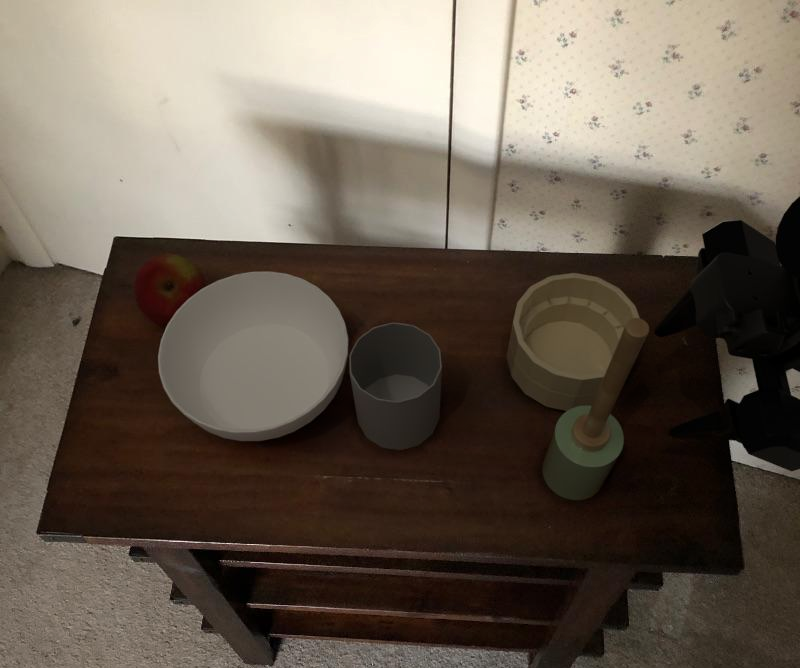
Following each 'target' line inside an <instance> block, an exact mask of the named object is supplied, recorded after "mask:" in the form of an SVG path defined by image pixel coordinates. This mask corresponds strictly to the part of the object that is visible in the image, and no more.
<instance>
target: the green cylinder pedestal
mask: <svg viewBox="0 0 800 668" xmlns="http://www.w3.org/2000/svg"><path fill="white" fill-rule="evenodd" d="M590 409H591V406H578V407H574V408H572V409H570V410H568V411H565V412H564V413H562V415H561V416H560V417H559V418H558V420H557V422H556V424H555V427H554V430H553V433H552V435H551V438H550V440H549V444H548V447H547V450H546V452H545V456H544V459H543V462H542V467H541V469H542V470H541V471H542V476H543V479H544V482H545V484H546V485H547V487H548V488H549V489H550V491H552V492H553V493H554V494H555V495H557V496H559V497H561V498H563V499H566V500H569V501H583V500H587V499H589V498H592V497H594V496H595V495H597V493H598V492H599V491H600V490H601V489H602V487H603V485H604V483H605V482H606V479H607V478H608V476H609V475H610V472H611V470H612V469H613V467H614V465H615V463H616V462H617V460H618V458H619V456H620V455H621V453H622V451H623V448H624V445H625V436H624V431H623V429H622V426H621V424H620V423H619V421H618V420H617V419H616V418H615V416H613V415H612V414H611V413H610V415H609V417H608V419H607V423H608V424H609V426H610V430H611V434H610V437H609V439H608V441H607V443H606V445H605V446H604V447H603V448H602V449H601V450H598V451H595V452H588V451H584V450H582V449H580V448H579V447H577V446H576V445H575V443H574V442H573V440H572V437H571V430H572V427H573V425H574V422H575V421H576V419H577V418H578V417H580V416H581V415H584V414H588V413H589V411H590Z"/></svg>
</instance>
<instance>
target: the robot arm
mask: <svg viewBox="0 0 800 668" xmlns="http://www.w3.org/2000/svg"><path fill="white" fill-rule="evenodd" d="M701 236H702V237H701V238H702V241H703V246H704V247H701V248H700V249H699V251H698V254H697V256H698V264H697V271H696V276H695V277H694V278H693V279H692V280H691V281H690V283H689V287H688V289H687V290H686V292H685V293H684V294H683V295H682V297H681V298H680V299H679V300H678V301H677V302H676V303H675V304H674V306H672V308H671V309H670V310H669V311H668V312H667V313H666V314H665V316H663V318H662V319H661V320H660V321H659V322H658V323H657V325H656V326H655V327H654V328H653V334H654V335H655V336H657V337H659V338H664V337H668V336H673V335H675V334H678V333H682V332H684V331H686V330H690V329H691V328H695V327H696V326H697V328H698V330H699V331H700V332H701V334H703V335H704V336H706V337H708V338H713V339H722V340H723V341H724V342H725V344H726V349H727V353H728V354H729V355H730V356H732V357H736V358H737V357H738V358H744V359H749V360H751V362H752V365H753V370H754V375H755V381H756V384H757V390H754V391H751V392H749V393H747V394H744V395H742V398H741V399H740V401H739V402H737V401H736V400H732V399H731V398H727V399H725V401H724V403H723V405H722V406H721V408H720V409H718V410H716V411H713V412H710V413H707V414H704V415H701V416H698V417H696V418H693V419H689V420H687V421H684V422H681V423H679V424H677V425H676V426H673V427H672V428H669V429H668V430H667V433H668V436H669V437H672V438H675V439H687V440H714V441H715V440H716V441H734V442H737V443H739V444H741V445H742V446H743V448H744V450H745V452H746V453H747V454H748V455H750V456H752V457H755V458H757V459H760V460H762V461H764V462H767V463H769V464H772V465H774V466H777V467H778V468H781V469H784V470H787V471H788V472H795V471H798V470H800V398H798V397H797V396H794V395H793V394H792V393H791V392H792V391H791V388H790V384H789V383H790V382H789V379H788V375H787V371H791V370H794V371H796V372H799V373H800V195H799V196H798V197H796V199H795V200H794V201H792V203H791V204H790V205H789V206H788V208H787V209H786V210H785V211H784V213H783V215H782V218H781V219H780V222H779V224H778V226H777V229H776V234H775V241H774V240H773V239H771V238H769V236H766V235H764V233H762V232H760V231H759V230H758V229H756V228H754V227H753V226H752V225H749V224H748V223H746V222H745V221H743V220H742V219H736V218H735V219H724V220H722V221H720V222H718V223H717V224H715V225H714V226H712V227H710V228H708V229H707V230H706V231H704V232H702V235H701Z"/></svg>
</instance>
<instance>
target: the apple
mask: <svg viewBox="0 0 800 668" xmlns="http://www.w3.org/2000/svg"><path fill="white" fill-rule="evenodd" d="M206 286H208V282H207V278H206V276H205V274H204V272H203V271H202V269H201V268H200V267H199V266H198V265H197V264H196V263H194V261H192V260H190V259H189V258H186V257H184V256H181V255H179V254H174V253H161V254H158V255H156V256H153V257H152V258H150V259H148V260H146V261H145V262H144V263H143V264H142V266H140V268H139V269H138V271H137V274H136V276H135V279H134V286H133V287H134V289H133V290H134V299H135V303H136V304H137V307H138V309H139V310H140V311H141V313H142V314H143V315H144V316H145V317H146V318H147V319H148V320H150V321H151V322H152V323H154V324H155V325H157V326H159V327H160V328H165V329H166V327H167V325H168V323H169V322H170V320H171V319H172V317H173V316H174V314H175V313H176V311H177V310H178V309H179V308H180V307H181V306H182V305H183V304H184V303H185V302H186V301H187V300H188V299H189V298H190V297H192V296H193V295H194V294H196V293H197V292H198V291H200V290H201V289H203V288H205V287H206Z"/></svg>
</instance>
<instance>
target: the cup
mask: <svg viewBox="0 0 800 668" xmlns="http://www.w3.org/2000/svg"><path fill="white" fill-rule="evenodd" d="M441 355H442V354H441V349H440V347H439V346H438V344H437V343H436V341H435V340H434V338H433V337H432V336H431V334H430V333H428V332H426V331H424V330H423V329H421V328H419V327H417V326H415V325H414V324H407V323H400V322H394V321H393V322H389V323H385V324H381V325H376V326H373V327H372V328H371V329H369V330H368V331H366V332H365V333H364V334H362V335H361V336H360V337H358V338H357V339H356V341H355V343H354V346H353V347H352V349H351V352H350V353H349V354H348V356H349V357H348V358H349V375H350V383H351V389H352V395H353V401H354V407H355V413H356V420H357V424H358V426H359V427H360V429H361V431H362V433H363V434H364V436H365V438H366V439H367V440H369V441H371V442H373V444H375V445H377V446H379V447H380V448H383V449H390V450H396V451H403V450H407V449H411V448H414V447H418V446H420V445H422V443H424V442H425V441H426V440H428V438H429V437H431V436H432V435H433V434H434V432H435V429H436V427H437V425H438V423H439V420H440V417H441V416H440V414H441V391H442V373H443V366H442V356H441Z"/></svg>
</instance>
